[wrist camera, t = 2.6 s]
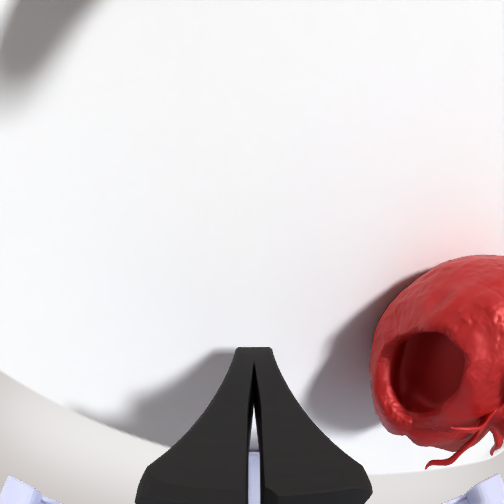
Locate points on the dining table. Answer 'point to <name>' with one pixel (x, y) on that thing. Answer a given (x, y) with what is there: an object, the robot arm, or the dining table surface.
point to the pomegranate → (443, 357)
